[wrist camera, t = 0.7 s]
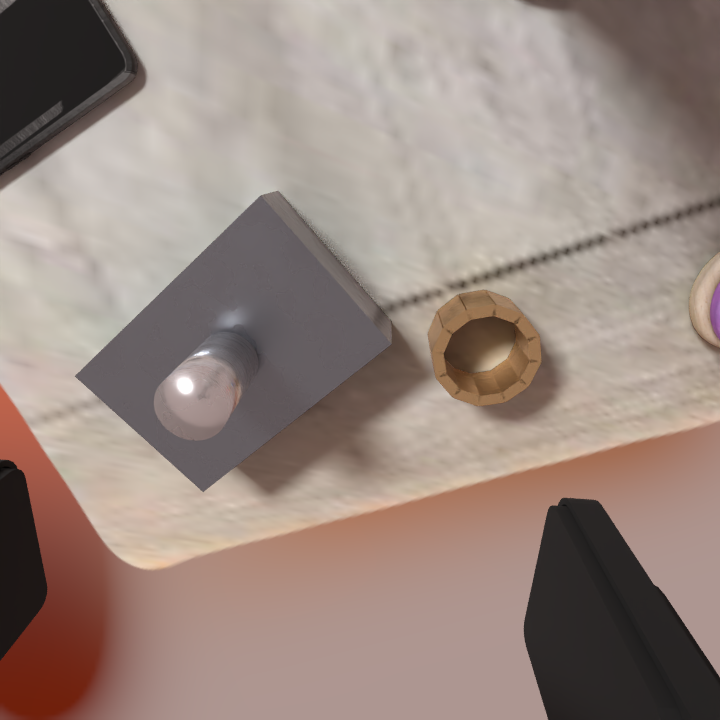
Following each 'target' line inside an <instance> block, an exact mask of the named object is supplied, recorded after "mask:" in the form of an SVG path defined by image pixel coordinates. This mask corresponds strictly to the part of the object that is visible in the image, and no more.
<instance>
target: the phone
mask: <svg viewBox="0 0 720 720" xmlns="http://www.w3.org/2000/svg"><path fill="white" fill-rule="evenodd" d="M125 42H126V40H125V38H124V37H123V35H122V34H121V32H120V30H119V29H118V27H117V25H116V24H115V22H114V21H113V19H112V17H111V16H110V14H109V12H108V11H107V9H106V8H105V6H104V4H103V3H102V1H101V0H0V175H2V173H4V172H5V171H7V170H9V169H11V168H12V167H13V166H15V165H16V164H18V162H19V161H22V160H24V159H25V158H27V157H28V156H29V155H31V154H30V153H32V152H33V151H35V150H36V149H37V148H39V147H40V146H42V145H43V144H44V143H46V142H47V141H49V140H50V139H51V138H53V137H54V136H56V135H57V134H58V133H60V132H61V131H63V130H64V129H65V128H67V127H68V126H70V125H71V124H72V123H74V122H75V121H77V120H78V119H79V118H81V117H82V116H84V115H85V114H86V113H88V112H89V111H91V110H92V109H93V108H95V107H96V106H98V105H99V104H100V103H102V102H103V101H105V100H106V99H107V98H109V97H110V96H112V95H113V94H114V93H116V92H117V91H119V90H120V89H121V88H123V87H124V86H126V85H127V84H128V83H130V82H131V81H132V80H133V79H134V78H135V76H136V73H137V67H138V66H137V60H136V57H135V55H134V53H133V51H132V50H131V48H130V47H129V45H128V43H127V42H126V43H125Z"/></svg>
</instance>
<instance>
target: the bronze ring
mask: <svg viewBox="0 0 720 720" xmlns="http://www.w3.org/2000/svg"><path fill="white" fill-rule="evenodd" d="M490 316H495V317H498V318H501V319H504V320H507V321H509V322H512V323H514V327H515V338H516V342H515V344H514V346H513V348H512V350H511V352H510V354H509V356H508V358H507V359H506V360H505V361H503V362H502V363H501V364H499V365H498V366H496V367H495V368H494V369H492V370H491V371H485V372H478V373H472V374H471V373H468V372H465V371H462V370H459V369H456V368H453V367H452V366H451V364H450V363H449V362H448V361H447V360H446V359H445V357H444V352H445V349H446V347H447V345H448V342H449V340H450V338H451V336H452V334H453V333H454V332H455V331H456V330H458V329H459V328H460V327H462V326H463V325H464V324H466V323H467V322H468V321H470V320H472V319H478V318H484V317H490ZM428 340H429V346H430V353H431V359H432V363H433V368H434V372H435V377H436V379H437V380H438V381H439V382H440V384H441V385H442V386H443V387H444V388H445V389H446V391H447V392H448V393H449V394H450V395H451V396H452V397H453V398H455V399H458V400H461V401H464V402H467V403H470V404H473V405H476V406H484V405H491V404H497V403H504V402H505V401H506V402H507V401H508V400H510V399H511V398H513V397H514V396H516V395H517V394H518V393H520V392H521V391H523V390H524V389H526V388H527V387H528V386H529V385H530V383H531V381H532V379H533V377H534V376H535V374H536V372H537V370H538V368H539V366H540V364H541V348H540V336H539V334H538V333H537V331H536V330H535V329H534V328H533V326H532V325H531V324H530V322H529V321H528V320H527V319H526V317H525V316H524V315H523V314H522V312H521V311H520V310H519V309H518V308H517V307H516V306H515V304H514V303H513V302H512V301H511V300H510V299H509V298H507V297H504V296H501V295H498V294H496V293H493V292H490V291H487V290H480V291H474V292H468V293H462V294H459V295H457V296H455V297H454V298H453V299H451V300H450V301H449V302H448V303H446V304H445V305H444V306H443V307H441V308H440V309H439V310H438V311H437V313H436V315H435V317H434V320H433V322H432V324H431V327H430V329H429V332H428Z"/></svg>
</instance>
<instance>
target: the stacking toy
mask: <svg viewBox="0 0 720 720" xmlns="http://www.w3.org/2000/svg"><path fill="white" fill-rule="evenodd" d="M689 312H690V318H691V321H692V323H693V326H694V327H695V329H696V331H697V332H698V333H699V335H700V336H701V337H702V338H703V339H705V340H706V341H707V342H709V343H710V344H712V345H714V346H716V347H719V348H720V252H719V253H717V254H716V255H715V256H714V257H713V258H712V259H711V260H710V261H709V262H708V263H707V264H706V265H705V266H704V267H703V269H702V270H701V272H700V273H699V275H698V276H697V278H696V280H695V282H694V284H693V287H692V290H691V293H690V299H689Z"/></svg>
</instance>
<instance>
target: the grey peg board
mask: <svg viewBox="0 0 720 720" xmlns="http://www.w3.org/2000/svg"><path fill="white" fill-rule="evenodd" d="M391 344H392V329H391V320H390V319H389V318H388V317H387V316H386V315H385V314H384V312H383V311H382V310H381V309H380V308H379V307H378V306H377V304H376V303H375V302H374V301H373V300H372V299H371V297H370V296H369V295H368V294H367V293H366V292H365V291H364V289H363V288H362V287H361V286H360V285H359V284H358V282H357V281H356V280H355V279H354V278H353V277H352V276H351V274H350V273H349V272H348V271H347V270H346V269H345V268H344V266H343V265H342V264H341V263H340V262H339V261H338V259H337V258H336V257H335V256H334V255H333V254H332V253H331V251H330V250H329V249H328V248H327V247H326V246H325V244H324V243H323V242H322V241H321V240H320V239H319V238H318V236H317V235H316V234H315V233H314V232H313V231H312V230H311V228H310V227H309V226H308V225H307V224H306V223H305V221H304V220H303V219H302V218H301V217H300V216H299V215H298V213H297V212H296V211H295V210H294V209H293V208H292V206H291V205H290V204H289V203H288V202H287V201H286V200H285V198H284V197H283V196H282V195H281V194H280V193H279V192H278V191H275V192H272V193H268V194H264V195H261V196H260V197H259V198H258V199H257V200H256V201H255V202H254V203H253V204H252V205H250V206H249V207H248V208H247V209H246V210H245V211H244V212H243V213H242V214H241V215H240V216H239V217H238V218H237V219H236V220H235V221H234V222H233V223H232V224H231V225H230V226H229V227H228V228H227V229H226V230H225V231H224V232H223V233H222V234H221V235H220V236H219V237H218V238H217V239H216V240H214V241H213V242H212V243H211V244H210V245H209V246H208V247H207V248H206V249H205V250H204V251H203V252H202V253H201V254H200V255H199V256H198V257H197V258H196V259H195V260H194V261H193V262H192V263H191V264H190V265H189V266H188V267H187V268H186V269H185V270H184V271H183V272H182V273H181V274H179V275H178V276H177V277H176V278H175V279H174V280H173V281H172V282H171V283H170V284H169V285H168V286H167V287H166V288H165V289H164V290H163V291H162V292H161V293H160V294H159V295H158V296H157V297H156V298H155V299H154V300H153V301H152V302H151V303H150V304H149V305H148V306H147V307H146V308H145V309H143V310H142V311H141V312H140V313H139V314H138V315H137V316H136V317H135V318H134V319H133V320H132V321H131V322H130V323H129V324H128V325H127V326H126V327H125V328H124V329H123V330H122V331H121V332H120V333H119V334H118V335H117V336H116V337H115V338H114V339H113V340H112V341H111V342H110V343H109V344H107V345H106V346H105V347H104V348H103V349H102V350H101V351H100V352H99V353H98V354H97V355H96V356H95V357H94V358H93V359H92V360H91V361H90V362H89V363H88V364H87V365H86V366H85V367H84V368H83V369H82V370H81V371H80V372H79V373H78V374H77V375H76V376H75V377H76V378H77V379H78V380H80V381H81V382H82V383H83V384H84V385H85V386H86V387H87V388H88V389H90V390H91V391H92V392H93V393H94V394H95V395H96V396H97V397H98V398H100V399H101V400H102V401H103V402H104V403H105V404H106V405H107V406H108V407H110V408H111V409H112V410H113V411H114V412H115V413H116V414H117V415H118V416H119V417H121V418H122V419H123V420H124V421H125V422H126V423H127V424H128V425H129V426H131V427H132V428H133V429H134V430H135V431H136V432H137V433H138V434H139V435H141V436H142V437H143V438H144V439H145V440H146V441H147V442H148V443H149V444H151V445H152V446H153V447H154V448H155V449H156V450H157V451H158V452H159V453H160V454H162V455H163V456H164V457H165V458H166V459H167V460H168V461H169V462H170V463H172V464H173V465H174V466H175V467H176V468H177V469H178V470H179V471H180V472H182V473H183V474H184V475H185V476H186V477H187V478H188V479H189V480H190V481H192V482H193V483H194V484H195V485H196V486H197V487H198V488H199V489H200V490H201V491H203V492H204V491H205V490H206V489H207V488H209V487H210V486H211V485H213V484H214V483H215V482H216V481H218V480H219V479H220V478H222V477H223V476H224V475H225V474H227V473H228V472H229V471H230V470H232V469H233V468H234V467H236V466H237V465H238V464H239V463H241V462H242V461H243V460H244V459H246V458H247V457H248V456H250V455H251V454H252V453H253V452H255V451H256V450H257V449H259V448H260V447H261V446H262V445H264V444H265V443H266V442H267V441H269V440H270V439H271V438H273V437H274V436H275V435H276V434H278V433H279V432H280V431H281V430H283V429H284V428H285V427H287V426H288V425H289V424H290V423H292V422H293V421H294V420H296V419H297V418H298V417H299V416H301V415H302V414H303V413H304V412H306V411H307V410H308V409H310V408H311V407H312V406H313V405H315V404H316V403H317V402H318V401H320V400H321V399H322V398H324V397H325V396H326V395H327V394H329V393H330V392H331V391H332V390H334V389H335V388H336V387H338V386H339V385H340V384H341V383H343V382H344V381H345V380H347V379H348V378H349V377H350V376H352V375H353V374H354V373H355V372H357V371H358V370H359V369H361V368H362V367H363V366H364V365H366V364H367V363H368V362H369V361H371V360H372V359H373V358H375V357H376V356H377V355H378V354H380V353H381V352H382V351H384V350H385V349H386V348H387V347H389V346H390V345H391Z"/></svg>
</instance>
